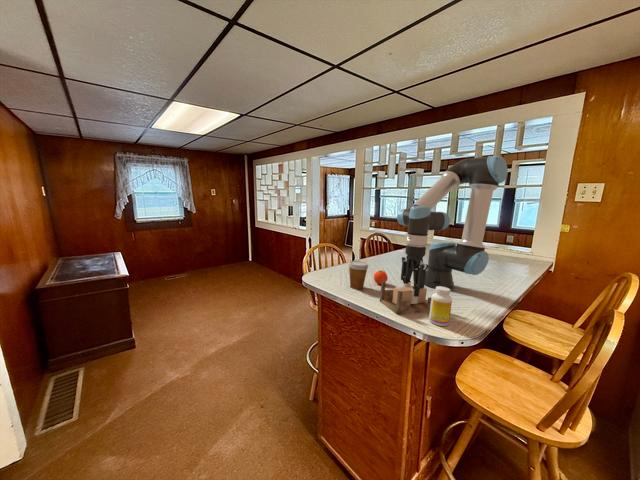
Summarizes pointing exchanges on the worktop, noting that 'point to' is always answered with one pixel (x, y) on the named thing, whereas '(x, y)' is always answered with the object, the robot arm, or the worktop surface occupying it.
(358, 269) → the disposable coffee cup
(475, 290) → the worktop surface
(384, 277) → the clementine
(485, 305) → the worktop surface
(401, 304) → the rack
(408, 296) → the pinkish tan block
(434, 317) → the supplement bottle
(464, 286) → the worktop surface
